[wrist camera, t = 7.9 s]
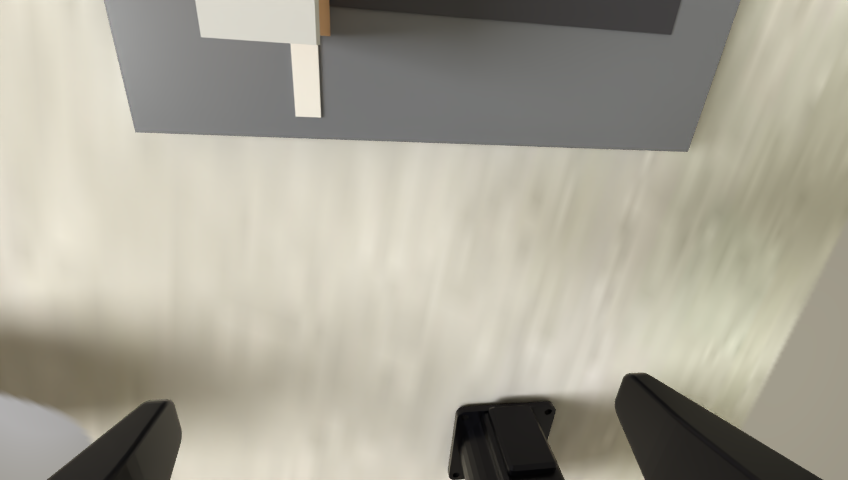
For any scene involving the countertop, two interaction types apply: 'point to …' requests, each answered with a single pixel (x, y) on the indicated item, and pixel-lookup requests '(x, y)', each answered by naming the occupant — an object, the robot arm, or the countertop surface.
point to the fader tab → (265, 20)
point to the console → (435, 72)
